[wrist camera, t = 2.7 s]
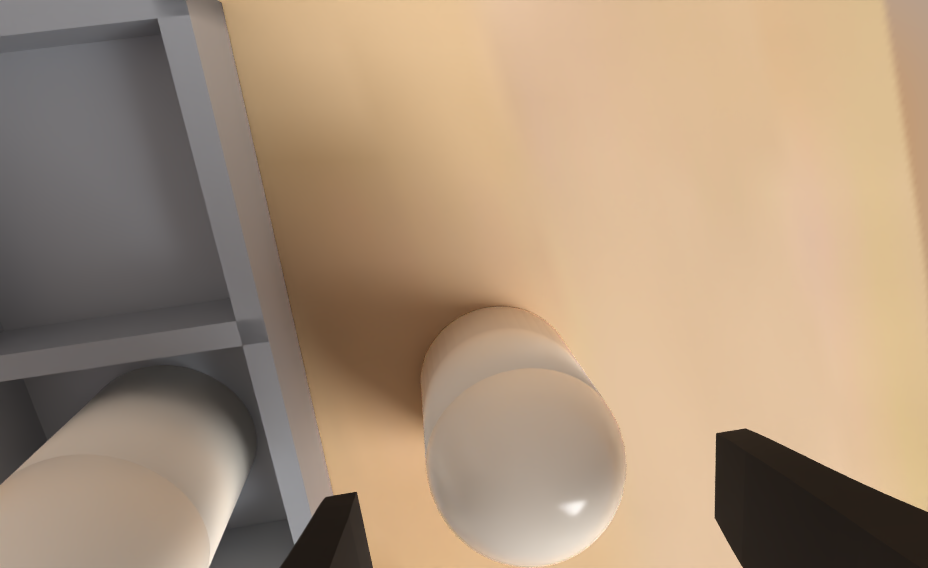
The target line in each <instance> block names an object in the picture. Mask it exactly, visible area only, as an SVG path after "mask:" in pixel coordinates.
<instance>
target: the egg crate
mask: <svg viewBox="0 0 928 568" xmlns="http://www.w3.org/2000/svg"><path fill="white" fill-rule="evenodd" d="M328 496H333V492H332V488H331V483H330V479H329V474H328V470H327V466H326V461H325V457H324V452H323V448H322V444H321V439H320V435H319V430H318V426H317V421H316V417H315V413H314V408H313V404H312V399H311V395H310V391H309V386H308V382H307V377H306V373H305V369H304V364H303V360H302V355H301V351H300V347H299V342H298V338H297V333H296V329H295V325H294V320H293V316H292V311H291V307H290V303H289V298H288V294H287V289H286V285H285V281H284V276H283V272H282V267H281V263H280V258H279V254H278V250H277V245H276V241H275V236H274V232H273V228H272V223H271V219H270V214H269V210H268V206H267V201H266V197H265V192H264V188H263V184H262V179H261V175H260V170H259V166H258V162H257V157H256V153H255V148H254V144H253V140H252V135H251V131H250V126H249V122H248V118H247V113H246V109H245V104H244V100H243V96H242V91H241V87H240V82H239V78H238V73H237V69H236V65H235V60H234V56H233V51H232V47H231V43H230V38H229V34H228V29H227V25H226V21H225V16H224V12H223V7H222V3H221V2H219V1H218V0H0V568H279V567H280V566H281V565H282V563H283V562H284V560H285V559H286V557H287V556H288V554H289V553H290V551H291V550H292V548H293V546H294V545H295V543H296V542H297V540H298V539H299V537H300V535H301V534H302V532H303V531H304V529H305V527H306V526H307V524H308V523H309V521H310V519H311V518H312V516H313V514H314V513H315V511H316V510H317V508H318V506H319V505H320V503H321V502H322V501H323V499H324V498H325V497H328Z"/></svg>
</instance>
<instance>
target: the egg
mask: <svg viewBox="0 0 928 568" xmlns="http://www.w3.org/2000/svg"><path fill="white" fill-rule="evenodd" d="M421 391H422V408H423V424H424V440H425V456H426V470H427V478H428V483H429V487H430V491H431V494H432V497H433V499H434V502H435V504H436V506H437V509H438V511H439V513H440V514H441V516H442V518H443V519H444V521H445V522H446V524H447V525H448V527H449V528H450V529H451V530H452V531H453V533H454V534H455V535H456V536H457V537H458V538H459V539H460V540H462V541H463V542H464V543H465V544H466V545H467V546H468V547H470V548H471V549H473V550H474V551H476V552H477V553H479V554H481V555H483V556H485V557H487V558H489V559H491V560H493V561H496V562H499V563H501V564H506V565H510V566H516V567H543V566H549V565H553V564H557V563H560V562H563V561H565V560H568V559H570V558H572V557H574V556H576V555H577V554H579V553H581V552H582V551H584V550H585V549H586V548H588V547H589V546H590V545H591V544H592V543H593V542H594V541H595V540H597V539H598V538H599V537H600V535H601V534H602V533H603V532H604V531H605V529H606V528H607V527H608V525H609V524H610V522H611V521H612V519H613V517H614V515H615V513H616V511H617V509H618V506H619V504H620V501H621V498H622V495H623V491H624V485H625V479H626V454H625V446H624V442H623V439H622V435H621V432H620V428H619V426H618V424H617V421H616V419H615V417H614V415H613V413H612V411H611V410H610V408H609V407H608V405H607V404H606V402H605V401H604V399H603V398H602V396H601V395H600V393H599V392H598V390H597V389H596V387H595V386H594V385H593V383H592V382H591V380H590V379H589V377H588V376H587V374H586V373H585V371H584V370H583V368H582V367H581V365H580V364H579V363H578V361H577V360H576V358H575V357H574V355H573V354H572V352H571V351H570V349H569V348H568V346H567V345H566V344H565V342H564V341H563V339H562V338H561V336H560V335H559V333H558V332H557V331H556V330H555V329H554V328H553V326H551V325H550V324H549V323H548V322H547V321H545V320H544V319H542V318H541V317H539V316H538V315H536V314H533V313H531V312H529V311H526V310H523V309H520V308H514V307H505V306H496V307H487V308H482V309H478V310H475V311H472V312H469V313H467V314H465V315H463V316H461V317H459V318H458V319H456V320H455V321H453V322H451V323H450V324H449V325H448V326H447V327H445V328H444V329H443V330H442V331H441V332H440V333H439V335H438V336H437V337H436V338H435V340H434V341H433V342H432V344H431V346H430V347H429V349H428V351H427V353H426V356H425V359H424V362H423V366H422V371H421Z"/></svg>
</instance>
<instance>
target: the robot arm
mask: <svg viewBox="0 0 928 568" xmlns="http://www.w3.org/2000/svg"><path fill="white" fill-rule="evenodd" d="M715 519H716V521H717V523H718V525H719V526H720V528H721V530H722V532H723V534H724V536H725V538H726V539H727V541H728V543H729V545H730V547H731V548H732V550H733V552H734V553H735V555H736V557H737V559H738V560H739V562H740V564H741V565H742V567H743V568H928V512H926V511H924V510H921V509H919V508H917V507H914V506H912V505H910V504H907V503H905V502H903V501H900V500H898V499H896V498H893V497H891V496H889V495H886V494H884V493H882V492H880V491H877V490H875V489H873V488H871V487H869V486H866V485H864V484H862V483H860V482H858V481H856V480H853V479H851V478H849V477H847V476H845V475H843V474H841V473H839V472H837V471H834V470H832V469H830V468H828V467H826V466H824V465H822V464H820V463H818V462H816V461H814V460H812V459H810V458H808V457H806V456H804V455H802V454H800V453H798V452H795V451H793V450H791V449H789V448H787V447H785V446H783V445H781V444H779V443H777V442H775V441H773V440H771V439H769V438H766V437H764V436H762V435H760V434H758V433H755V432H753V431H750V430H748V429H740V430H734V431H727V432H721V433H716V473H715ZM279 568H373V566H372V561H371V557H370V552H369V547H368V543H367V538H366V533H365V528H364V524H363V519H362V514H361V510H360V505H359V500H358V495H357V492H353V493H347V494H341V495H334V496H328V497H325V498H324V499H323V501H322V502H321V503H320V505H319V506H318V508H317V510H316V511H315V513H314V514H313V516H312V518H311V519H310V521H309V523H308V524H307V526H306V527H305V529H304V531H303V532H302V534H301V535H300V537H299V539H298V540H297V542H296V543H295V545H294V546H293V548H292V550H291V551H290V553H289V554H288V556H287V557H286V559H285V560H284V562H283V563H282V565H281V566H280V567H279Z"/></svg>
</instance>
